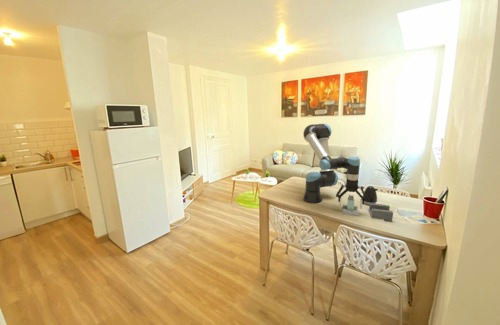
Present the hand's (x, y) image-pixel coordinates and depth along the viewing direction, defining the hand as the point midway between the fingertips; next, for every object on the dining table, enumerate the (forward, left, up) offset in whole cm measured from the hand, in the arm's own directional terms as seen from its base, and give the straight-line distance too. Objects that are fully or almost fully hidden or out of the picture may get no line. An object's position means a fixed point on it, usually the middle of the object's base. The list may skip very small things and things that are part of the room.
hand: (350, 207), depth 150 cm
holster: (0, 0, -5) cm, 5 cm away
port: (+19, +1, -5) cm, 20 cm away
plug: (0, 0, -4) cm, 4 cm away
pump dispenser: (+15, +20, -5) cm, 25 cm away
